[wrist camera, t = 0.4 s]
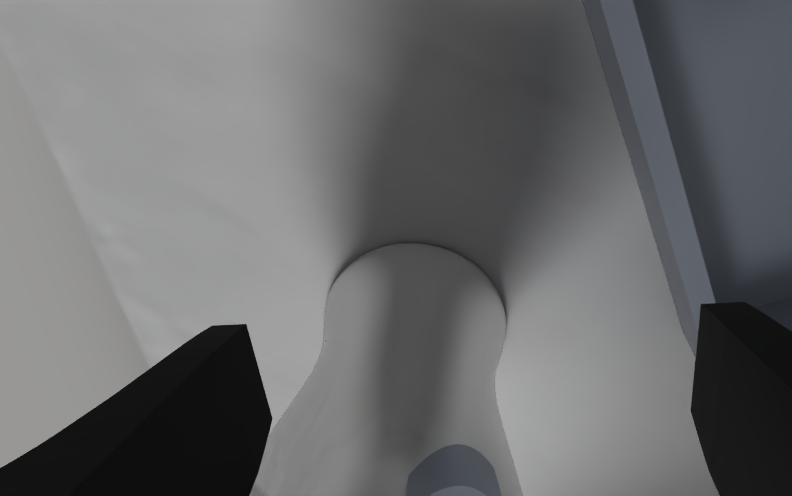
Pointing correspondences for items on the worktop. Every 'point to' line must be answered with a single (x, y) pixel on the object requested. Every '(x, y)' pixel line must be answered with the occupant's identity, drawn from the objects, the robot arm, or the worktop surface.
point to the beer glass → (399, 386)
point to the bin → (708, 142)
